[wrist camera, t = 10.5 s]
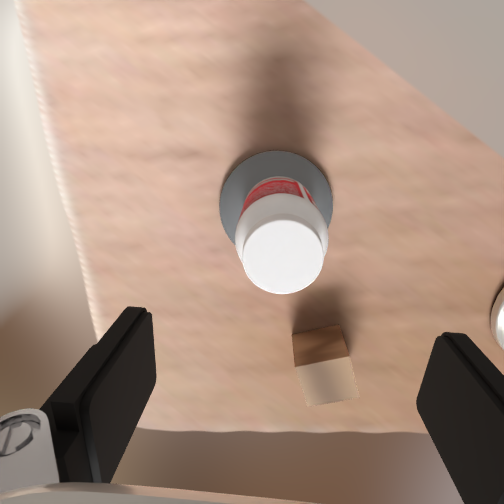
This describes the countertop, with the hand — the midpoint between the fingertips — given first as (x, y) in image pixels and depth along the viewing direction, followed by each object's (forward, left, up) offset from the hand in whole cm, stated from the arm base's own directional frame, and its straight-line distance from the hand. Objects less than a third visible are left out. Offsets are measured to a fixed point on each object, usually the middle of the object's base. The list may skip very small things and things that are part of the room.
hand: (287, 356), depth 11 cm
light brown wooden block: (-6, +15, -20) cm, 26 cm away
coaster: (0, 0, -20) cm, 20 cm away
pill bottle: (0, 0, -20) cm, 20 cm away
